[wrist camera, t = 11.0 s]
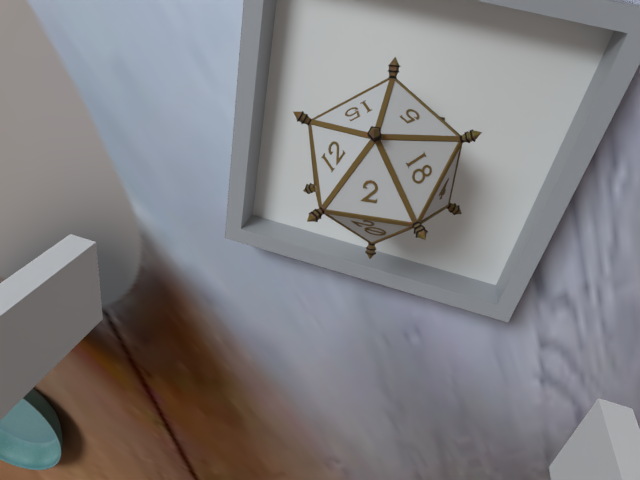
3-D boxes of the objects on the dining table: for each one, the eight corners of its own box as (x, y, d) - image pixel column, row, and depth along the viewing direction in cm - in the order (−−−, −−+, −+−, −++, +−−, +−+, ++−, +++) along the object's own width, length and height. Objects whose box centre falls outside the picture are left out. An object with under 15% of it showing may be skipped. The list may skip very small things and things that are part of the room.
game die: (432, 127, 30) (521, 248, 24) (309, 190, 31) (365, 323, 25) (399, -5, 23) (513, 118, 17) (242, 82, 24) (296, 229, 18)
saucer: (-16, 434, 60) (-35, 452, 58) (-61, 343, 52) (-85, 360, 50) (89, 464, 57) (74, 484, 55) (58, 371, 49) (38, 391, 47)
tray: (504, 293, 31) (508, 322, 29) (243, 216, 34) (224, 238, 31) (643, 5, 22) (665, 12, 20) (271, -73, 25) (249, -75, 22)
